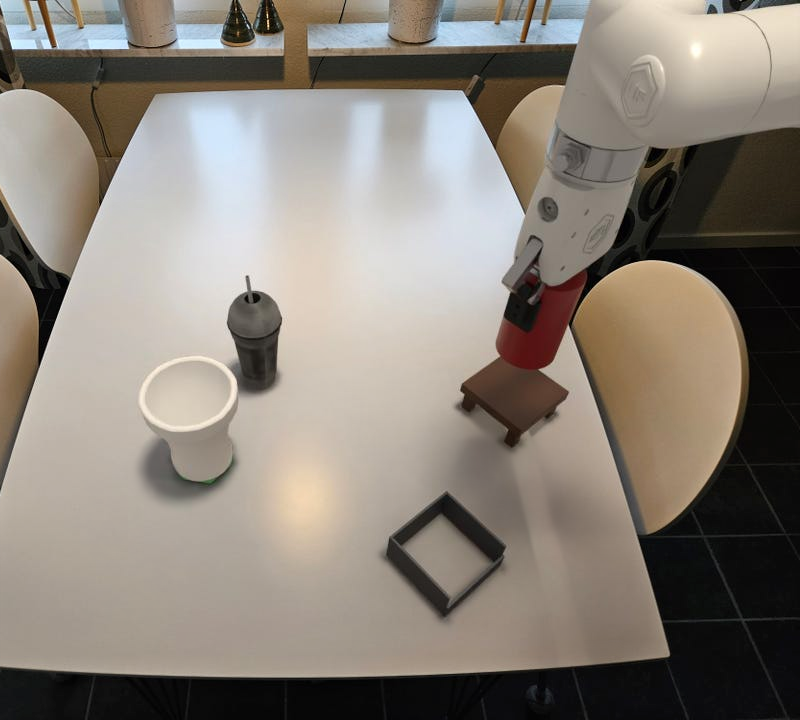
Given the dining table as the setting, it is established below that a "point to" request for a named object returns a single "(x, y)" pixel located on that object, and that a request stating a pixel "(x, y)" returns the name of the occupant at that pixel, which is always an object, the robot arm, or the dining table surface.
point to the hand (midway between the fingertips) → (539, 307)
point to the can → (541, 325)
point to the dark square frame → (467, 526)
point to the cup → (192, 414)
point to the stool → (512, 396)
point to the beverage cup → (255, 335)
